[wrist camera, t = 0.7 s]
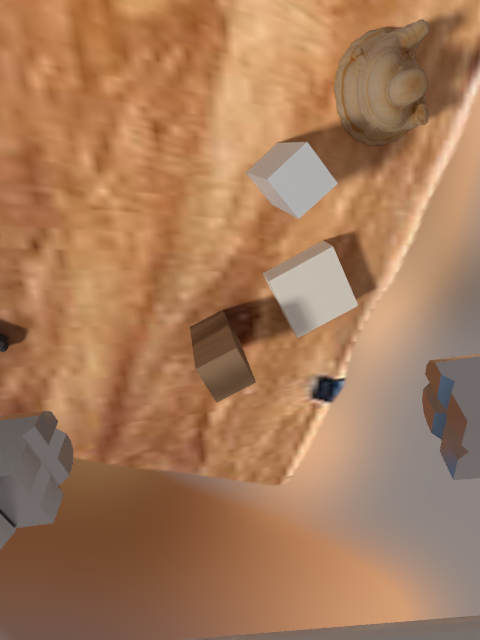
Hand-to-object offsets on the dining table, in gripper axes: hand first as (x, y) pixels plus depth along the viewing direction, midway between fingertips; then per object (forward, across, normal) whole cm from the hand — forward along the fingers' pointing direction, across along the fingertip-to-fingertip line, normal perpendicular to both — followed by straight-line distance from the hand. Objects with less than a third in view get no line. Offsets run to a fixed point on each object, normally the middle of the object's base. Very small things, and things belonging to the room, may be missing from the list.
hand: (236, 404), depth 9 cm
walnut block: (+40, +7, +29) cm, 50 cm away
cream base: (+43, -6, +26) cm, 51 cm away
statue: (+50, -17, +5) cm, 53 cm away
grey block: (+46, -3, +11) cm, 47 cm away
